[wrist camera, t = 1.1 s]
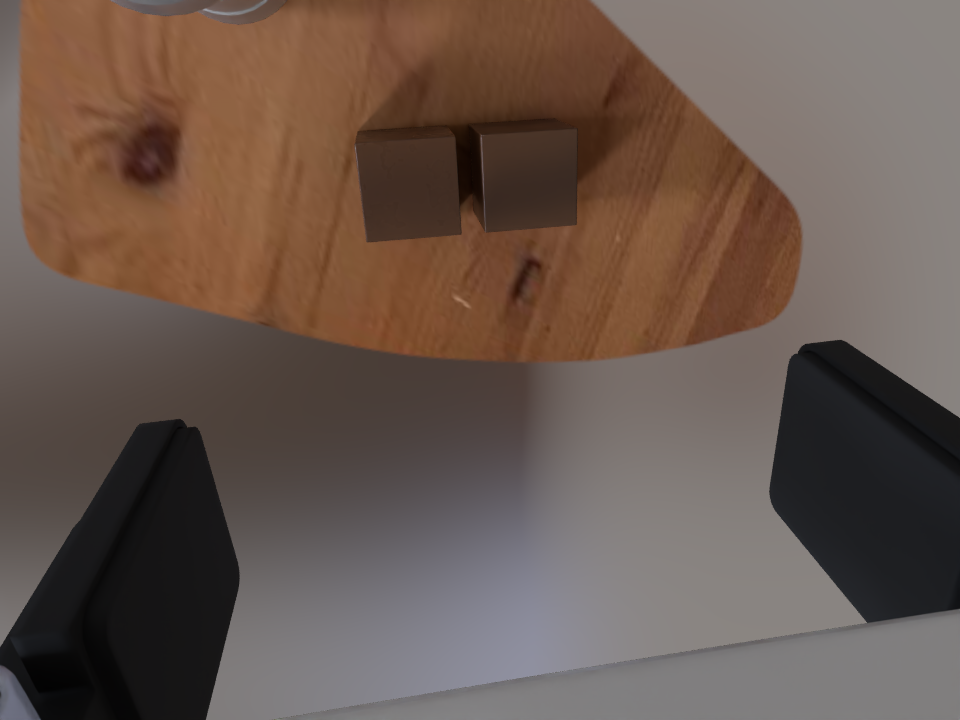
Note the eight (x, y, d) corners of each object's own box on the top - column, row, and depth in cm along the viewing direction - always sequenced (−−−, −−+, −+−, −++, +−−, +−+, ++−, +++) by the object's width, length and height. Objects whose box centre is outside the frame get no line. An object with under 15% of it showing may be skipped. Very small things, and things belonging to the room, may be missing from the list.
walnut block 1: (357, 131, 36) (354, 143, 32) (446, 125, 37) (455, 136, 33) (367, 220, 39) (366, 242, 34) (452, 213, 39) (461, 234, 35)
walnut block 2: (468, 123, 37) (480, 134, 33) (555, 118, 38) (578, 128, 33) (473, 211, 39) (485, 232, 35) (555, 205, 40) (576, 225, 35)
